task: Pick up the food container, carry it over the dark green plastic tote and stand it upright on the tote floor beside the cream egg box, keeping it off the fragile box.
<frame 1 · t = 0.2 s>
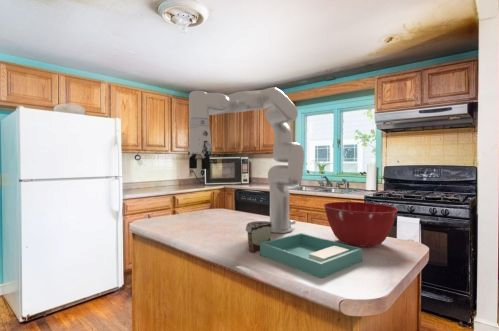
hand: (199, 168, 109), 31 cm above the counter, tool pointing down, fingers open, 9 cm apart
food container: (255, 249, 109), on the counter
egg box: (329, 264, 90), point 1 cm above the counter, touching tote
tote: (309, 260, 97), on the counter
mixing bowl: (359, 243, 117), on the counter
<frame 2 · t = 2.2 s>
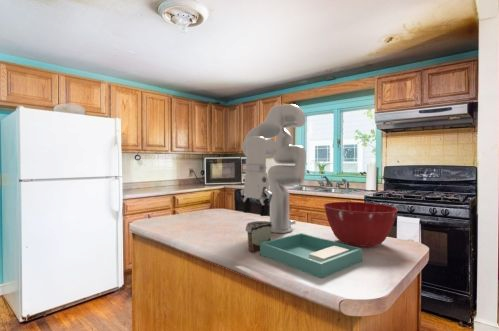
hand: (255, 213, 108), 14 cm above the counter, tool pointing down, fingers open, 9 cm apart
nothing on the counter moved.
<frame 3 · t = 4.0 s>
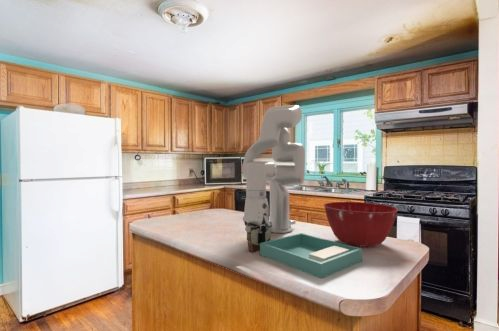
hand: (255, 240, 109), 3 cm above the counter, tool pointing down, fingers closed on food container, 5 cm apart
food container: (255, 249, 109), on the counter, touching gripper
everything else where it was.
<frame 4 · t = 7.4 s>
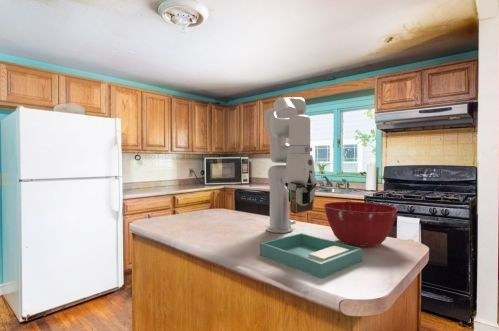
hand: (299, 202, 100), 19 cm above the counter, tool pointing down, fingers closed on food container, 5 cm apart
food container: (297, 211, 101), point 16 cm above the counter, touching gripper
everything else where it was.
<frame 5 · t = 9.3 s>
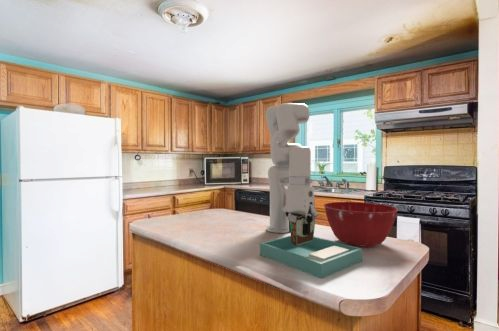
hand: (299, 232, 100), 9 cm above the counter, tool pointing down, fingers closed on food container, 5 cm apart
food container: (298, 241, 100), point 5 cm above the counter, touching gripper
everything else where it was.
when the fingers open (5 cm above the counter, at t = 10.9 s): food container moves 1 cm, resting on tote.
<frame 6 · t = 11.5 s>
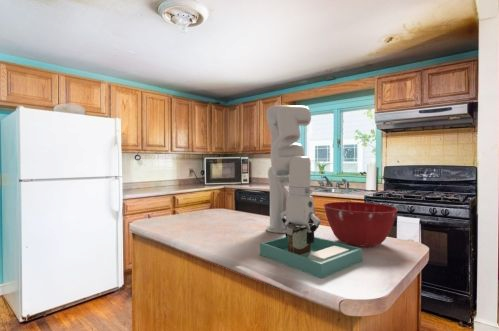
hand: (299, 240, 100), 6 cm above the counter, tool pointing down, fingers open, 9 cm apart
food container: (295, 252, 102), point 1 cm above the counter, touching gripper, tote
everything else where it was.
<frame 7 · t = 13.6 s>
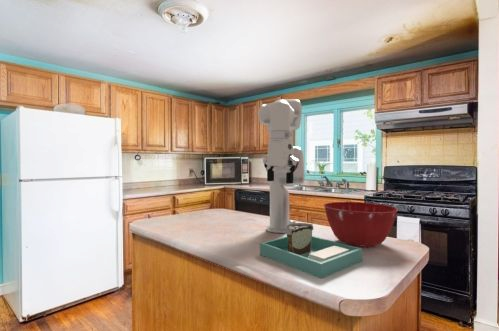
hand: (279, 182, 107), 26 cm above the counter, tool pointing down, fingers open, 9 cm apart
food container: (295, 253, 102), point 1 cm above the counter, touching tote
everything else where it was.
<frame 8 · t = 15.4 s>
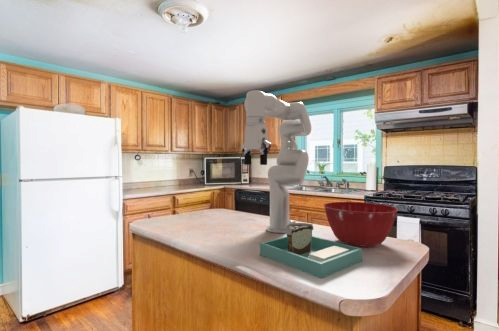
hand: (255, 164, 115), 32 cm above the counter, tool pointing down, fingers open, 9 cm apart
nothing on the counter moved.
at the end: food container inside the target area on the tote (1.8 cm from its centre), point 0.8 cm above the tote's base; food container tilted 0°; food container touching tote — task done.
